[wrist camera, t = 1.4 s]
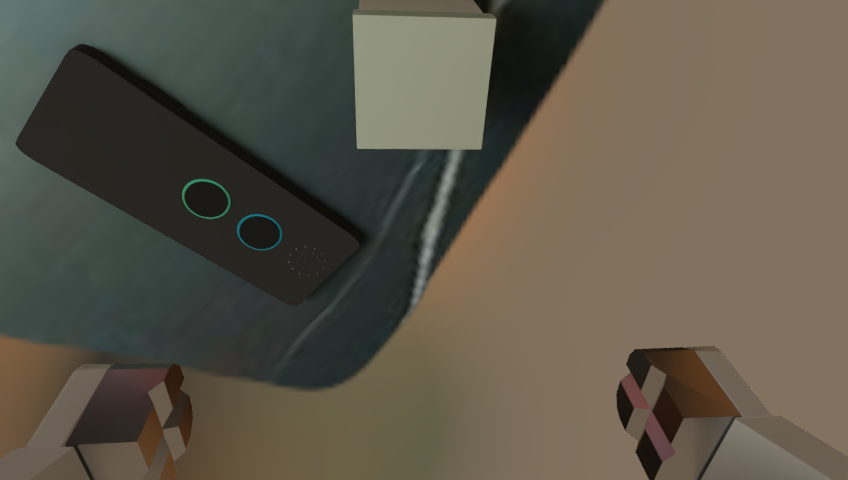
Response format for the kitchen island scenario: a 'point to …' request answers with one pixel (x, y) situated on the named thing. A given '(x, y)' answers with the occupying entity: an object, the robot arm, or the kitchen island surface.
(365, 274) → the kitchen island surface
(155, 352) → the kitchen island surface
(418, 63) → the cream tea tin
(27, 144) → the smart home device
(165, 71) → the kitchen island surface
